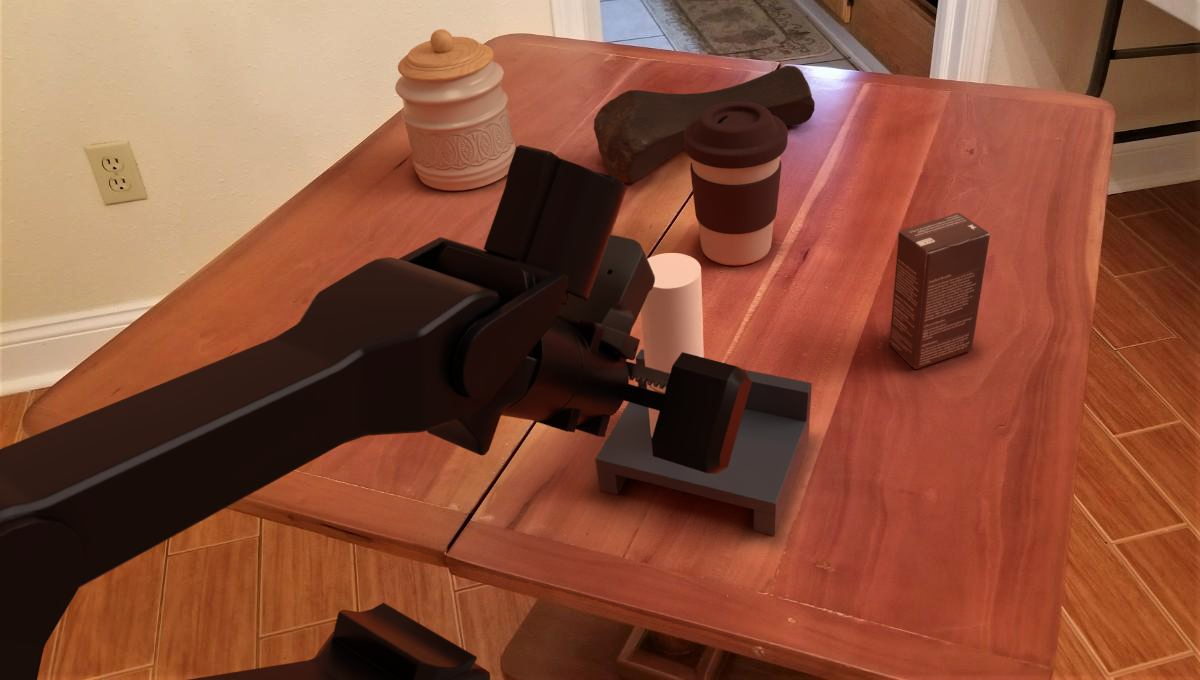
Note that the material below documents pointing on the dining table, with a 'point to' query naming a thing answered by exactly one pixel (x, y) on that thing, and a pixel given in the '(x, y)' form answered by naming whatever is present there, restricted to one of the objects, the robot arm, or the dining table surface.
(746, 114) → the coffee cup
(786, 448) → the shelf
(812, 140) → the dining table surface
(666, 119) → the dark brown bone
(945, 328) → the box
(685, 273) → the tube
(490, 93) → the jar
